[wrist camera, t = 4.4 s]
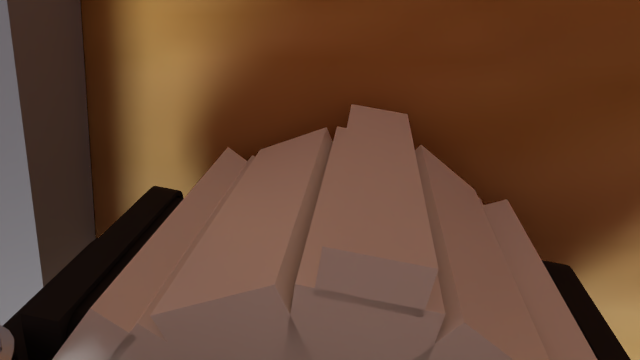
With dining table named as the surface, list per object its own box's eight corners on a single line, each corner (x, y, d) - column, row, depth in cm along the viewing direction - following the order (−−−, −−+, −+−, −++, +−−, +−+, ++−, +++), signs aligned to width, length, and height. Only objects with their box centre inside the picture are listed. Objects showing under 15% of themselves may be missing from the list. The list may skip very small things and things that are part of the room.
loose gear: (205, 77, 9) (25, 188, 4) (559, 141, 9) (761, 331, 4) (194, 349, 12) (84, 574, 8) (451, 402, 12) (497, 671, 7)
